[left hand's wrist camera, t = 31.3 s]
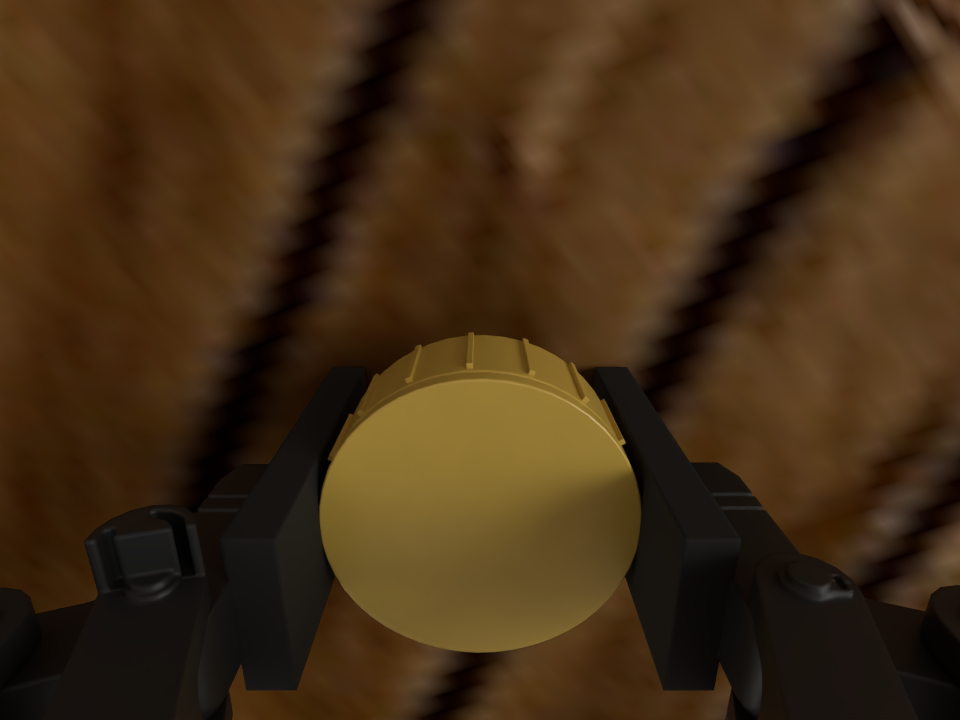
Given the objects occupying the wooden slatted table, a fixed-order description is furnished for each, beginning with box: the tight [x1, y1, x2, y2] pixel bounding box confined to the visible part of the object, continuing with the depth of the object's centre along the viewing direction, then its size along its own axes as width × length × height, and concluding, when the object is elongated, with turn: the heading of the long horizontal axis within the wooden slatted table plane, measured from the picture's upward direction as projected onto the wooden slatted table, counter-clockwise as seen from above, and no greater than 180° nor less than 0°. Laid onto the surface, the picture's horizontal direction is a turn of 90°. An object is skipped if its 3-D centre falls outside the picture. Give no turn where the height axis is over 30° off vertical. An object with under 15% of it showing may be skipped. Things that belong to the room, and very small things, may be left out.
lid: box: [319, 332, 642, 652], centre depth 11 cm, size 6×6×2 cm
